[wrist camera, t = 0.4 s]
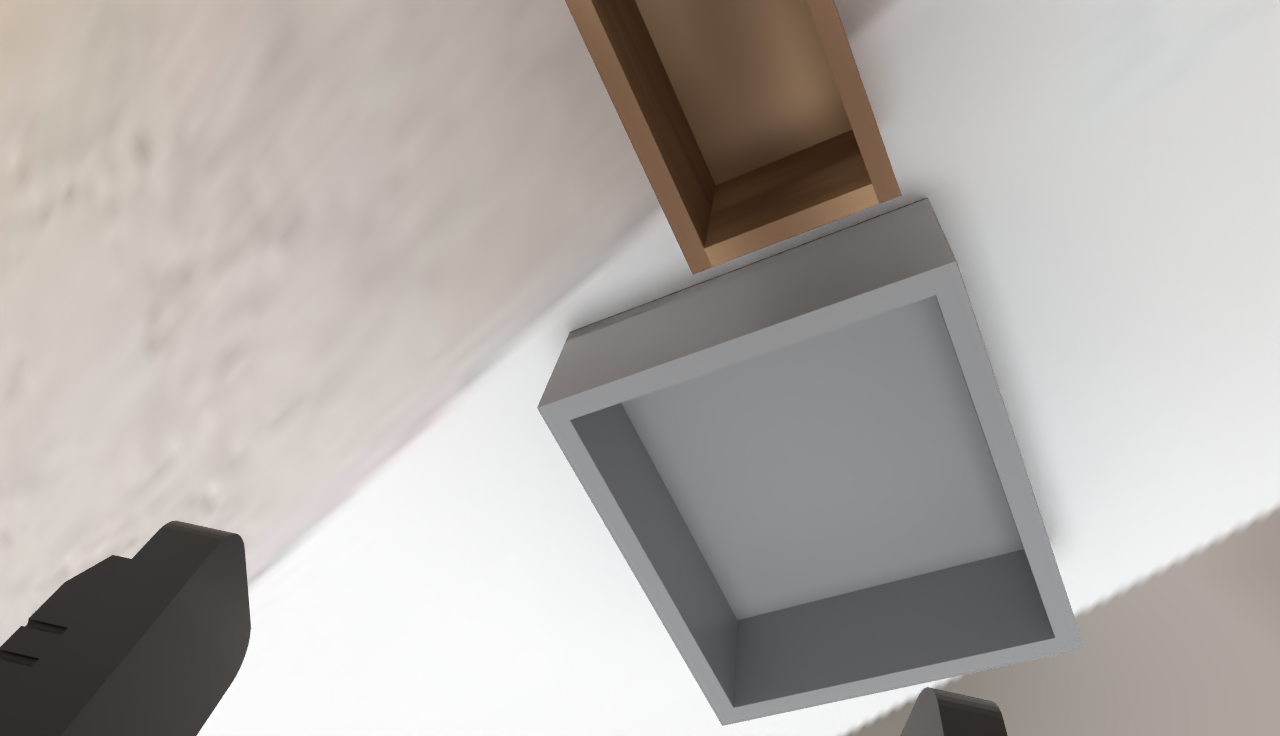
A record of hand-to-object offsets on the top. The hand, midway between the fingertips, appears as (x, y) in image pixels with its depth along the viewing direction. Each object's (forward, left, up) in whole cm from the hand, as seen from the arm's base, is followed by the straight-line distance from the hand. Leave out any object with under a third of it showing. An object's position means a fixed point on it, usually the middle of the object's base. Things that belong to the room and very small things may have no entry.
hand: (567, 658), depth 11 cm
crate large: (+1, +12, -23) cm, 26 cm away
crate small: (-2, -3, -23) cm, 23 cm away
